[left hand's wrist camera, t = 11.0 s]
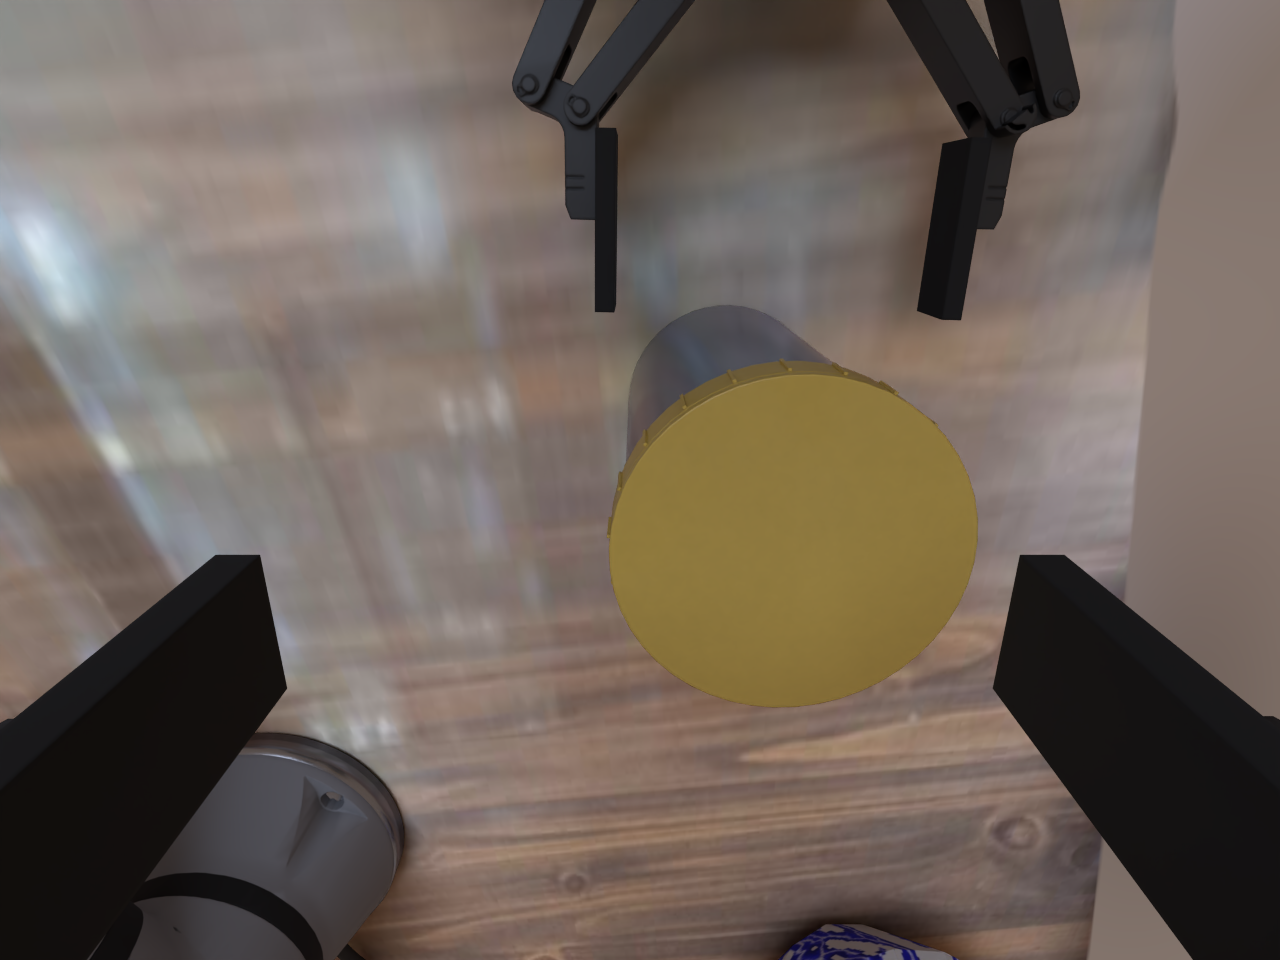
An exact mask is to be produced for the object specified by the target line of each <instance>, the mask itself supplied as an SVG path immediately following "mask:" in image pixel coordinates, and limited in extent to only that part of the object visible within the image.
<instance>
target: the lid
mask: <svg viewBox="0 0 1280 960" xmlns="http://www.w3.org/2000/svg"><path fill="white" fill-rule="evenodd" d="M898 393H899V392H897V391H896V390H894V389H893V388H891V387H890V386H888V385H887V384H886V383H884V382H883V381H881V380H880V382H879V383H878V382H876V381H874V380H873V379H871V378H869V377H867V376H864V375H862V374H859V373H857V372H854V371H852V370H849V369H846V368H842V367H840V366H839V365H838V364H836V363H834V362H832V365H830V364H825V363H817V362H808V361H785V360H784V359H779V361H776V362H769V363H763V364H757V365H751V366H748V367H744V368H741V369H737V370H734V371H731V370H730V369H729V370H727V373H725V374H723V375H721V376H718V377H716V378H714V379H711V380H709V381H707V382H705V383H703V384H702V385H700V386H698V387H697V388H695V389H693V390H692V391H690V392H688V393H687V394H685V395H683V394H681V395H680V399H679V400H677V401H676V402H675V403H674V404H672V405H671V406H670V407H668V408H667V409H666V410H665V411H664V412H663V413H662V414H661V415H660V416H659V417H658V418H657V419H656V420H655V421H654V422H653V423H652V424H651V425H650V427H649V428H648V429H647V430H645V429H644V430H643V436H642V437H641V439H640V440H639V441H638V443H637V444H636V446H635V448H634V450H633V451H632V453H631V455H630V457H629V458H628V460H627V462H626V464H625V467H624V469H623V472H619V474H618V485H617V489H616V493H615V497H614V501H613V509H612V517H609V520H608V531H607V538H610V542H609V562H610V574H611V584H613V589H614V593H615V596H616V599H617V602H618V604H619V607H620V610H621V612H622V614H623V616H624V618H625V620H626V622H627V624H628V626H629V628H630V630H631V631H632V632H633V634H634V635H635V637H636V638H637V639H638V641H639V642H640V644H641V645H642V646H643V647H644V649H645V650H646V651H647V652H648V653H649V654H650V655H651V656H652V657H653V658H654V659H655V660H656V661H657V662H658V663H659V664H660V665H662V666H663V667H664V668H665V669H667V670H668V671H669V672H670V673H671V674H673V675H674V676H676V677H677V678H679V679H681V680H682V681H684V682H686V683H687V684H689V685H690V686H692V687H694V688H697V689H699V690H701V691H703V692H705V693H708V694H710V695H713V696H716V697H719V698H722V699H725V700H728V701H732V702H737V703H742V704H747V705H751V706H763V707H799V706H806V705H814V704H820V703H824V702H828V701H832V700H836V699H840V698H843V697H846V696H849V695H851V694H854V693H857V692H860V691H862V690H864V689H866V688H868V687H870V686H872V685H874V684H877V683H879V682H881V681H882V680H884V679H886V678H887V677H889V676H890V675H892V674H894V673H895V672H897V671H898V670H900V669H901V668H902V667H904V666H905V665H906V664H908V663H909V662H910V661H911V660H913V659H914V658H915V657H916V656H918V655H919V654H920V653H921V652H922V651H923V650H924V649H925V648H926V647H927V646H928V645H929V644H930V643H931V642H932V641H933V640H934V638H935V637H936V636H937V635H938V633H939V632H940V631H941V630H942V628H943V627H944V626H945V625H946V623H947V622H948V620H949V619H950V617H951V616H952V614H953V612H954V611H955V609H956V607H957V606H958V604H959V602H960V600H961V598H962V595H963V593H964V591H965V589H966V587H967V584H968V582H969V578H970V575H971V571H972V568H973V565H974V561H975V554H976V547H977V541H978V517H977V510H976V503H975V496H974V493H973V489H972V486H971V483H970V480H969V476H968V474H967V472H966V470H965V467H964V465H963V463H962V461H961V459H960V457H959V455H958V453H957V452H956V451H955V449H954V448H953V446H952V445H951V443H950V442H949V440H948V439H947V437H946V436H945V435H944V434H943V433H942V432H941V431H940V430H939V429H938V425H937V423H935V422H934V421H932V420H931V419H930V418H928V417H927V416H925V415H924V414H923V413H921V412H920V411H919V410H917V409H916V408H915V407H914V406H912V405H911V404H910V403H908V402H907V401H905V400H904V399H903V398H901V397H900V396H898Z"/></svg>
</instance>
